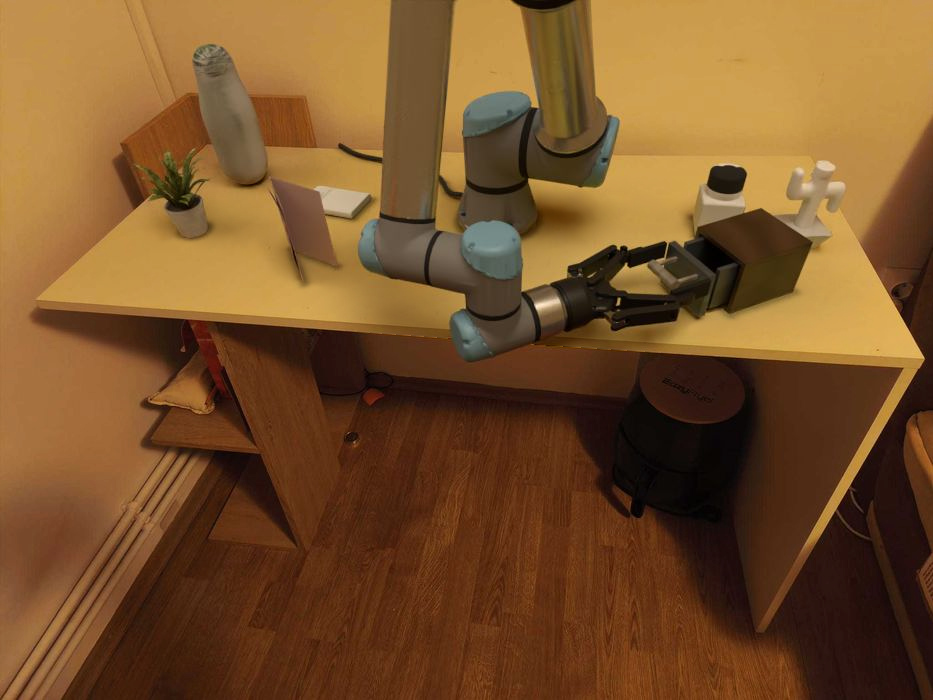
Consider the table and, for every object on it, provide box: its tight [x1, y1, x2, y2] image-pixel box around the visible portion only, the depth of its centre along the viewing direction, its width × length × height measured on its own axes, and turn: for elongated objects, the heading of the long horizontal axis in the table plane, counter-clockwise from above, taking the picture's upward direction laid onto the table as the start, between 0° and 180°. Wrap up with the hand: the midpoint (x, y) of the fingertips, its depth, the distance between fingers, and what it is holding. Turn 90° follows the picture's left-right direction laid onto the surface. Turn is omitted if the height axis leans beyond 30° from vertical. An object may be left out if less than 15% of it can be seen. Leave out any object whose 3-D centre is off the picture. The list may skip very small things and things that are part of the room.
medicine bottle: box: [692, 162, 748, 236], centre depth 109 cm, size 7×7×12 cm
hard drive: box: [312, 184, 372, 220], centre depth 125 cm, size 2×8×12 cm
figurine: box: [773, 159, 847, 250], centre depth 104 cm, size 7×9×15 cm
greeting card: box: [267, 176, 338, 283], centre depth 107 cm, size 11×7×15 cm, turn 23°
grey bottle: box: [192, 43, 269, 185], centre depth 126 cm, size 10×10×28 cm
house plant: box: [130, 145, 214, 239], centre depth 115 cm, size 14×14×16 cm
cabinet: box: [694, 207, 813, 314], centre depth 98 cm, size 13×11×10 cm
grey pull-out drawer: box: [646, 236, 741, 318], centre depth 96 cm, size 16×10×8 cm, turn 112°
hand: (685, 267), depth 94 cm, fingers closed on grey pull-out drawer, 10 cm apart
